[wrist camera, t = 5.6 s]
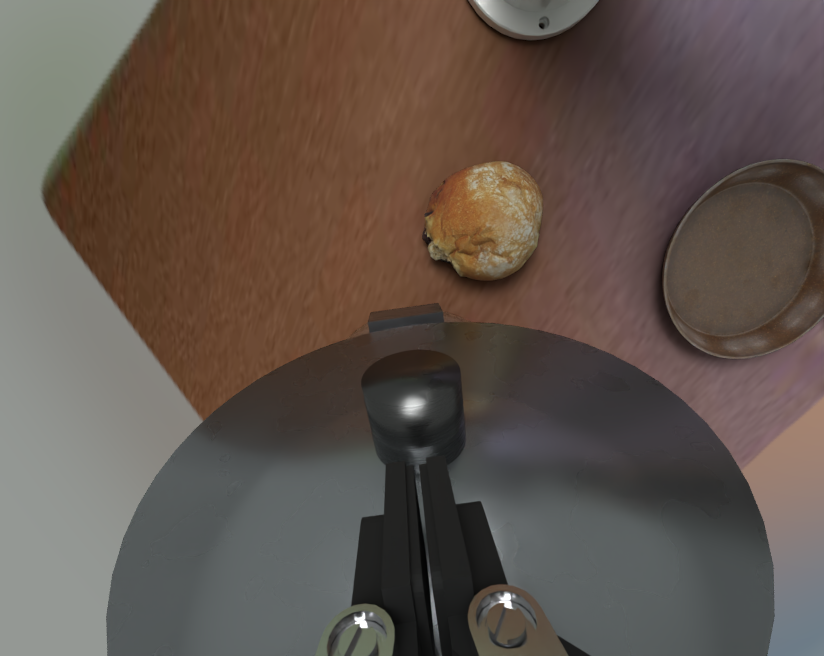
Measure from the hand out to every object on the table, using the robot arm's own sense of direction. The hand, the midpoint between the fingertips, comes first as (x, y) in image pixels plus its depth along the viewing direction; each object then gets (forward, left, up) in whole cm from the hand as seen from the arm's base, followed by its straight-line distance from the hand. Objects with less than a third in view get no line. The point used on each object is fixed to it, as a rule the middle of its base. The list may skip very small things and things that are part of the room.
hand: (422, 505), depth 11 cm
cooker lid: (+2, 0, -5) cm, 5 cm away
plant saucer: (0, +32, -28) cm, 43 cm away
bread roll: (-7, +8, -28) cm, 30 cm away
